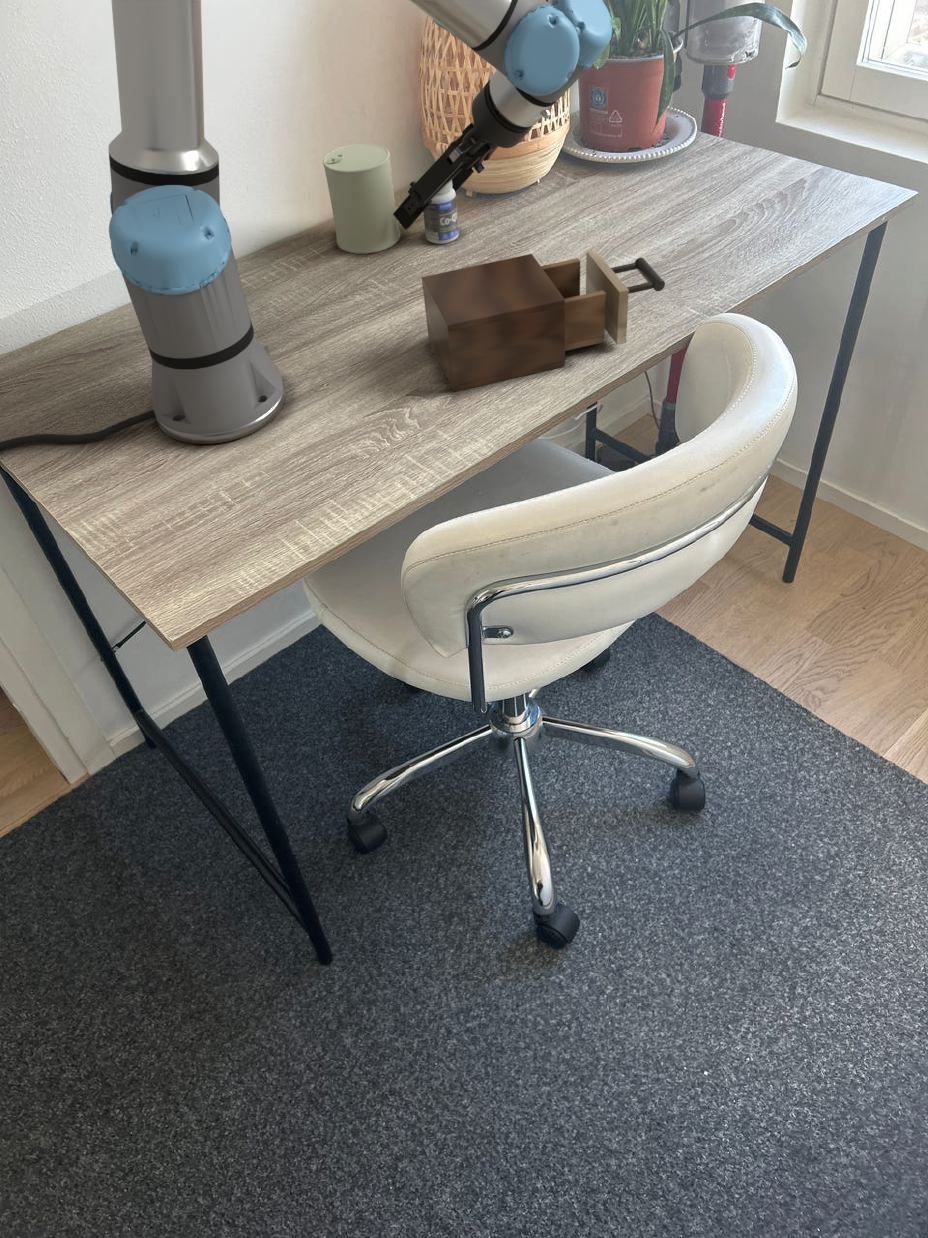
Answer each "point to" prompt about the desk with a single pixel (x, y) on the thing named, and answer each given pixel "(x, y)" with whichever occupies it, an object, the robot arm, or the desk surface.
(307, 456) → the desk surface
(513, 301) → the cabinet
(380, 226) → the can
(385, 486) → the desk surface
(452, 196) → the pill bottle
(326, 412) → the desk surface
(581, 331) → the drawer
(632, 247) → the desk surface
